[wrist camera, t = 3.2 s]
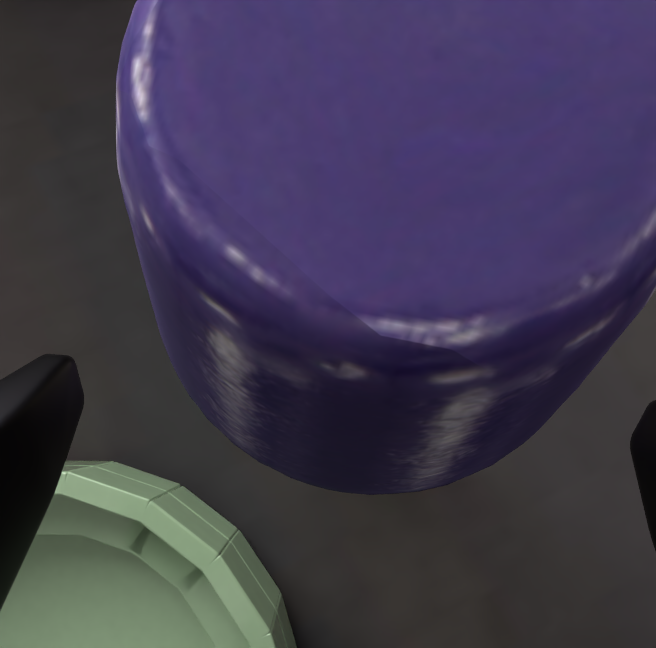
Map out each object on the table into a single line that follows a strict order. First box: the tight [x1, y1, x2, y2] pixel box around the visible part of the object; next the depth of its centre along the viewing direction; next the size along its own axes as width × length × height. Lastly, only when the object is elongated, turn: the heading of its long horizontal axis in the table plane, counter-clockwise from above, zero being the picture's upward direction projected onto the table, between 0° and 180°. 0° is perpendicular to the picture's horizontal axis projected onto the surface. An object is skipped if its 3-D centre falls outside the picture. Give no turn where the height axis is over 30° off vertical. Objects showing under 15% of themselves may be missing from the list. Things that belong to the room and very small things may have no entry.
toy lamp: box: [116, 0, 656, 495], centre depth 11 cm, size 5×5×17 cm
